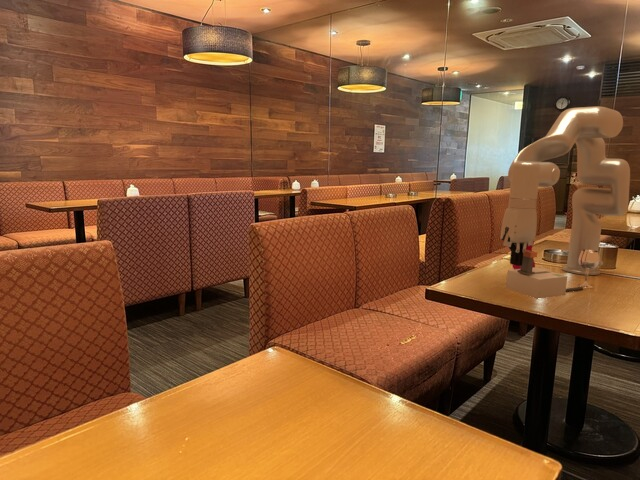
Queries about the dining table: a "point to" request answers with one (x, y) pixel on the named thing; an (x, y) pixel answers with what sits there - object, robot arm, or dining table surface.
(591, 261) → the wineglass
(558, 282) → the box
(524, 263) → the breaker handle
